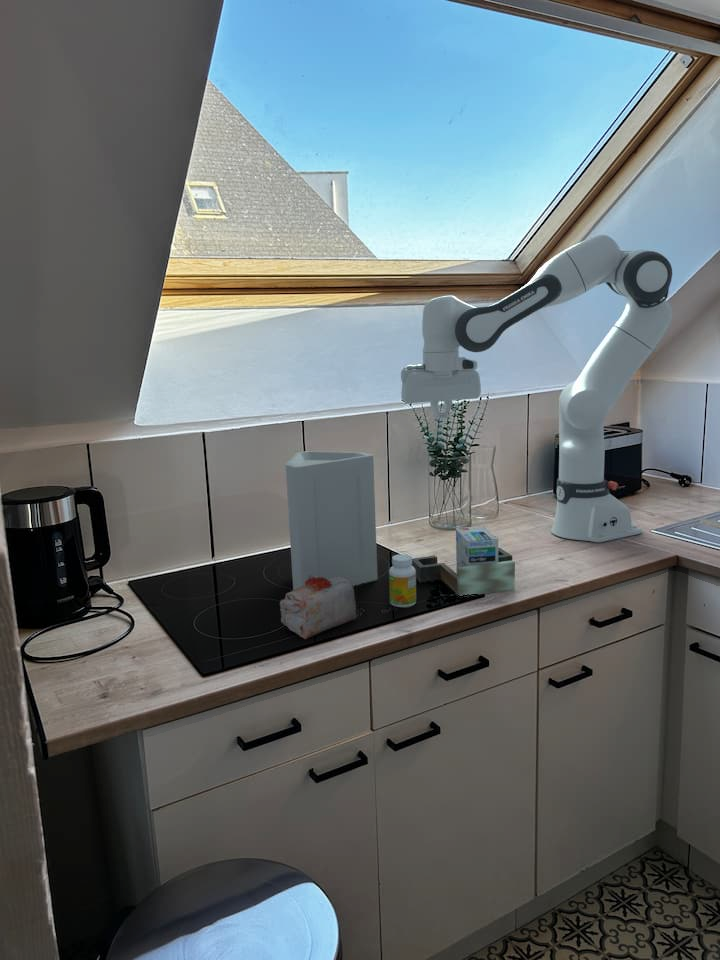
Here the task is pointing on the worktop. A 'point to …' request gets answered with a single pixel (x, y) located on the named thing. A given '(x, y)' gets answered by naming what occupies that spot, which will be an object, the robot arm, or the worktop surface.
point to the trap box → (469, 574)
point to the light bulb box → (475, 546)
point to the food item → (318, 605)
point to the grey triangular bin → (332, 516)
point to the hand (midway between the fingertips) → (441, 418)
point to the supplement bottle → (402, 581)
